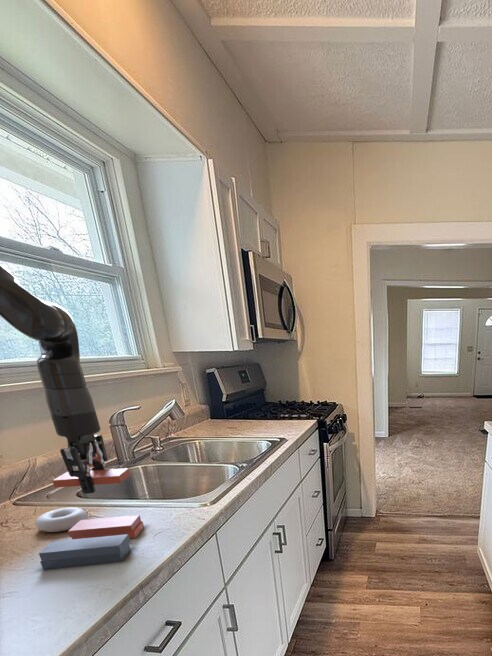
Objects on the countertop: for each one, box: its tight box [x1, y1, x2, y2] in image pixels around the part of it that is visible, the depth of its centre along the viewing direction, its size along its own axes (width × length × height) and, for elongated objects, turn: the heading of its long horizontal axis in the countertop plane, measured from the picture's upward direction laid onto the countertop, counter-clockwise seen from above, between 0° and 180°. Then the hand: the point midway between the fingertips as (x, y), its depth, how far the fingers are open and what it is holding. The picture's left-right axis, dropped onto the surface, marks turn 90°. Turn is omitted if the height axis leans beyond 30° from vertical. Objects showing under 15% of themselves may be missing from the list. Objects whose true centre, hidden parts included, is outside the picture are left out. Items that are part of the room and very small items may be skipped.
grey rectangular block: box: [38, 534, 131, 570], centre depth 82 cm, size 14×5×4 cm, turn 103°
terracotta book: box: [51, 467, 131, 488], centre depth 87 cm, size 12×6×2 cm, turn 103°
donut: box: [35, 507, 88, 533], centre depth 97 cm, size 10×4×10 cm
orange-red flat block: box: [67, 514, 145, 540], centre depth 92 cm, size 13×6×3 cm, turn 103°
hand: (96, 487), depth 88 cm, fingers closed on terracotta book, 6 cm apart
